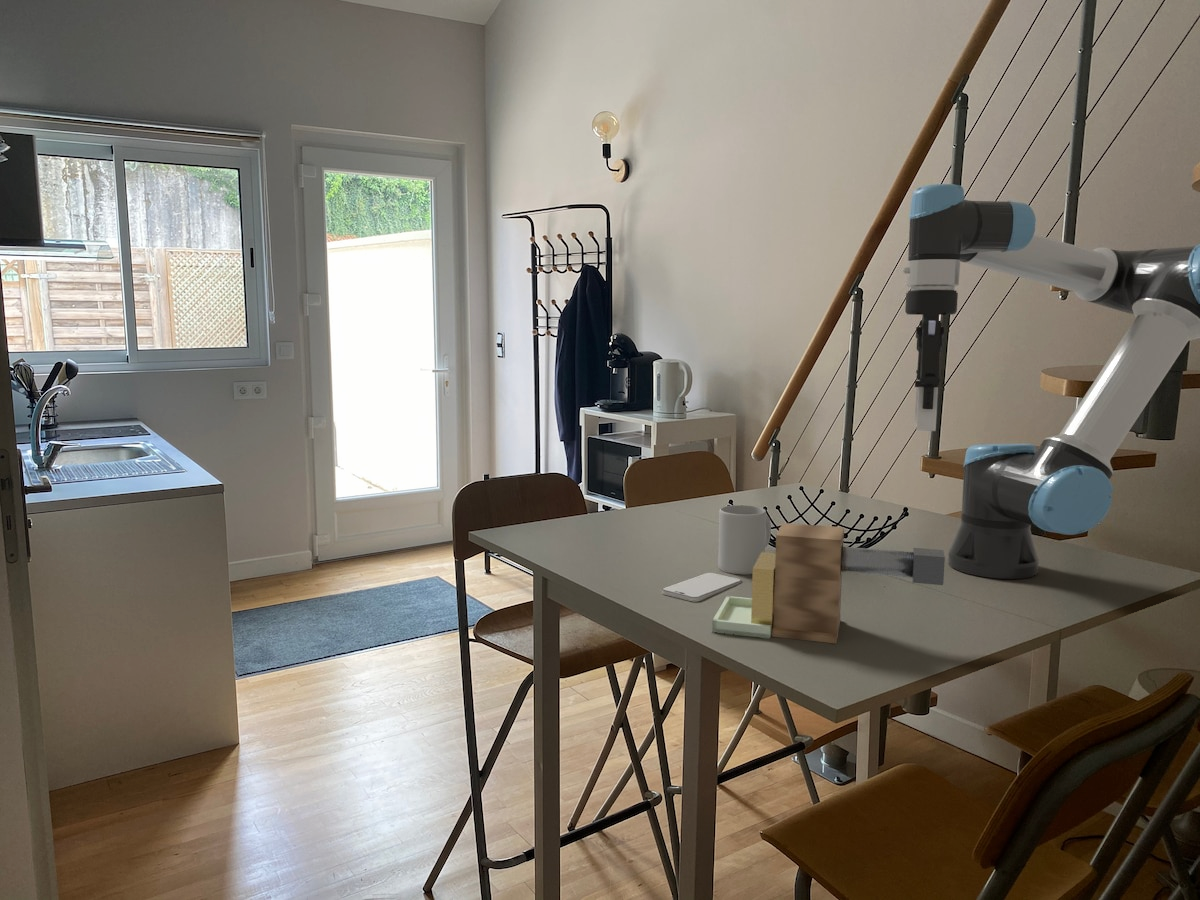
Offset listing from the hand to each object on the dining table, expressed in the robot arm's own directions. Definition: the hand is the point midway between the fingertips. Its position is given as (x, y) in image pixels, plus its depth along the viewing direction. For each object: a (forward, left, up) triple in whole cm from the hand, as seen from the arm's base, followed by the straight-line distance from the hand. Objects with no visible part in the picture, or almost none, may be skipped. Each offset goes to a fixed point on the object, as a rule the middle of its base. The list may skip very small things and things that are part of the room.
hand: (924, 425), depth 140 cm
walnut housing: (+15, +19, -29) cm, 38 cm away
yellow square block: (+22, +19, -28) cm, 40 cm away
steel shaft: (+7, +19, -20) cm, 28 cm away
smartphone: (+34, +4, -29) cm, 45 cm away
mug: (+29, -11, -29) cm, 42 cm away
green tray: (+24, +19, -29) cm, 42 cm away
